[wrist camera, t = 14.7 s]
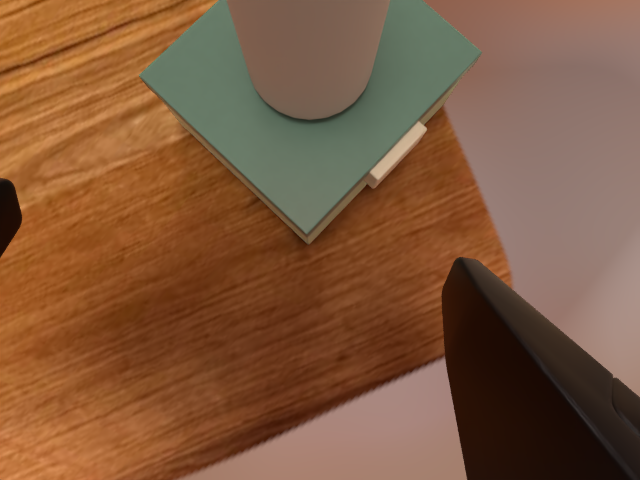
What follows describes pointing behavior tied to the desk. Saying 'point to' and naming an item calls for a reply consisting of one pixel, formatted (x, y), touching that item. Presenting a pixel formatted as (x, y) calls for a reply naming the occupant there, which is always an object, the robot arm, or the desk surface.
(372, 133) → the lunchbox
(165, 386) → the desk surface
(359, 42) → the beverage can
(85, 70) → the desk surface
